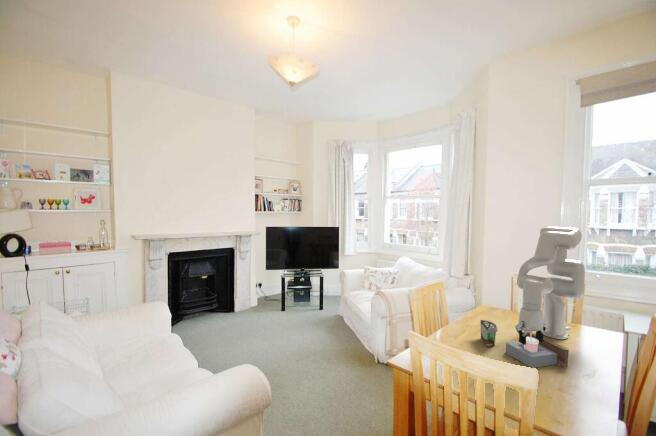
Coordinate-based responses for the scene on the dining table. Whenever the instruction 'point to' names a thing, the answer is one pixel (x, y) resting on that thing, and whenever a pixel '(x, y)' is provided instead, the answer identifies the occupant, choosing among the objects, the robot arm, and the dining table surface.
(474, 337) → the dining table surface
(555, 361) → the socket block
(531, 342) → the beverage cup
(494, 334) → the food container
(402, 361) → the dining table surface
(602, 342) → the dining table surface
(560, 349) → the walnut wall
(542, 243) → the robot arm
